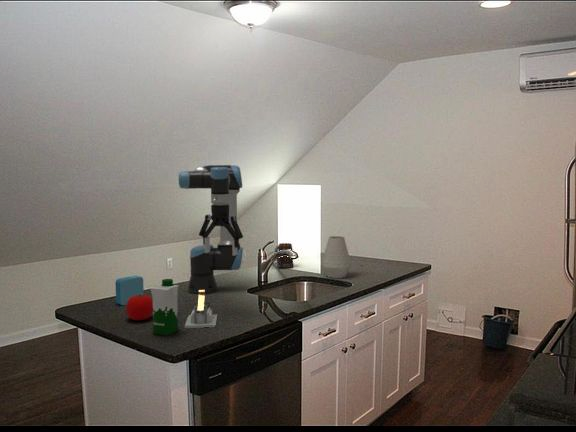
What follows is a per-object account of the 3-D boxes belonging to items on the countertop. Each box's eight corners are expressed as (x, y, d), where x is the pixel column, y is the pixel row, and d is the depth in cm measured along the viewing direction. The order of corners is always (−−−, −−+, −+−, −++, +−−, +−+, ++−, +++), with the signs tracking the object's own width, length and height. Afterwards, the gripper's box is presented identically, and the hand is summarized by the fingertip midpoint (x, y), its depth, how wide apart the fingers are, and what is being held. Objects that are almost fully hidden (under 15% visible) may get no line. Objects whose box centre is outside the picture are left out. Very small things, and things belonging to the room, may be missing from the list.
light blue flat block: (138, 299, 237) (138, 274, 235) (144, 300, 234) (143, 276, 232) (115, 304, 228) (115, 279, 226) (121, 306, 225) (120, 280, 223)
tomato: (127, 324, 198) (126, 299, 197) (124, 316, 209) (124, 292, 208) (156, 321, 202) (155, 296, 201) (152, 313, 214) (151, 289, 212)
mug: (283, 265, 319) (283, 242, 318) (296, 266, 313) (296, 243, 312) (268, 269, 307) (268, 245, 305) (282, 271, 301) (282, 246, 299)
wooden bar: (198, 293, 204) (198, 290, 203) (205, 293, 205) (205, 290, 203) (196, 314, 196) (196, 310, 195) (204, 313, 197) (203, 310, 195)
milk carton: (181, 329, 192) (180, 279, 190) (168, 337, 183) (166, 284, 182) (162, 327, 195) (161, 277, 193) (148, 334, 187) (147, 282, 185)
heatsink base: (188, 317, 208) (188, 299, 207) (217, 316, 209) (216, 298, 208) (184, 328, 194) (184, 308, 193) (215, 327, 195) (215, 307, 194)
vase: (343, 272, 297) (343, 234, 294) (356, 278, 280) (356, 238, 278) (316, 274, 291) (316, 235, 289) (328, 280, 275) (328, 240, 273)
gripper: (190, 203, 207) (191, 253, 210) (241, 206, 197) (242, 257, 200) (200, 202, 214) (201, 250, 217) (250, 204, 204) (251, 254, 207)
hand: (221, 253), depth 208 cm, fingers open, 13 cm apart
